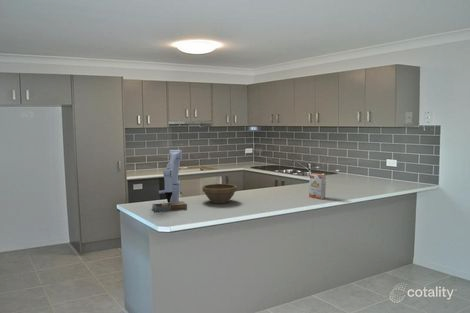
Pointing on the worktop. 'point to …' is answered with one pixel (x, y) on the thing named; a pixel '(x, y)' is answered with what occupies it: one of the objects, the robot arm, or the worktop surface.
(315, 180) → the cracker box
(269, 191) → the worktop surface
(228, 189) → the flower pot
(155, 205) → the charcoal tray
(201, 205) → the worktop surface
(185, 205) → the walnut board
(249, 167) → the worktop surface
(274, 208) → the worktop surface
